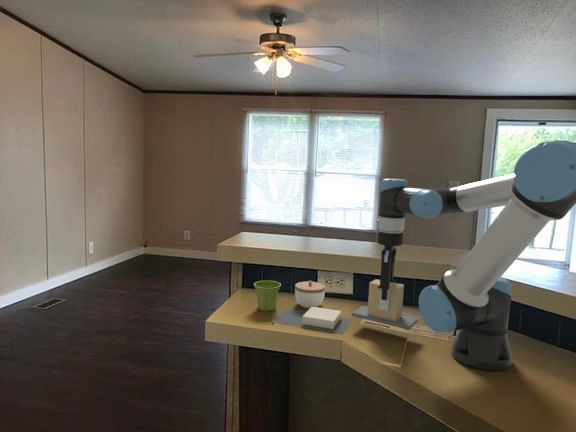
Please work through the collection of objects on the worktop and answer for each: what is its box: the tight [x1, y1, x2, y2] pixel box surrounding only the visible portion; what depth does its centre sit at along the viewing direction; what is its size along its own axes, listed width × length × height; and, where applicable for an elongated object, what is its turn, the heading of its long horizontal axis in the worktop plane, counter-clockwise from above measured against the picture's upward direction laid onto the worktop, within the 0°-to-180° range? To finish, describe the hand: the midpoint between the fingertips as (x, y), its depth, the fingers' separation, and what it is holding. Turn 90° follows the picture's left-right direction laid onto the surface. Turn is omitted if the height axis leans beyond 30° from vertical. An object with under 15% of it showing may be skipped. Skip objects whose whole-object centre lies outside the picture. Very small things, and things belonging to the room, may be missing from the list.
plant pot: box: [253, 280, 282, 312], centre depth 156 cm, size 9×9×9 cm
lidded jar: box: [294, 280, 326, 309], centre depth 159 cm, size 11×11×9 cm
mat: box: [271, 308, 353, 335], centre depth 144 cm, size 23×14×1 cm, turn 70°
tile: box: [302, 306, 342, 330], centre depth 143 cm, size 3×10×10 cm
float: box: [351, 278, 419, 331], centre depth 136 cm, size 18×8×11 cm, turn 58°
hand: (385, 306), depth 136 cm, fingers closed on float, 6 cm apart
